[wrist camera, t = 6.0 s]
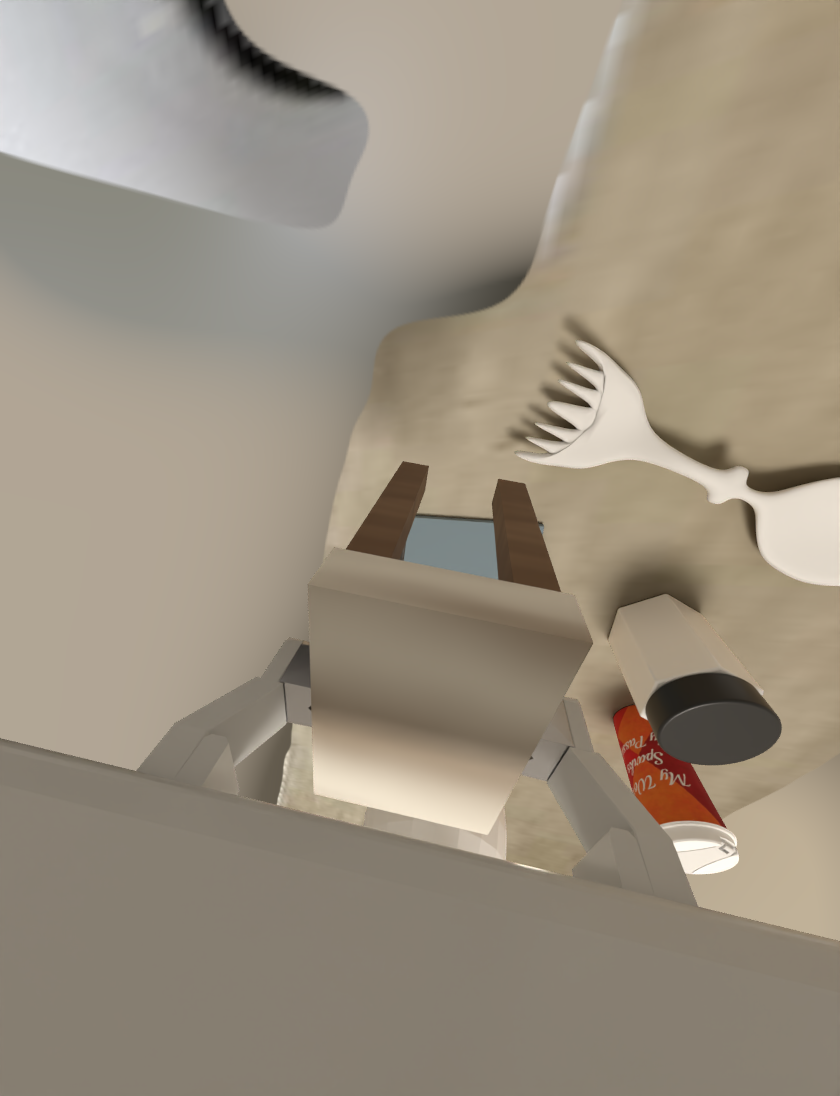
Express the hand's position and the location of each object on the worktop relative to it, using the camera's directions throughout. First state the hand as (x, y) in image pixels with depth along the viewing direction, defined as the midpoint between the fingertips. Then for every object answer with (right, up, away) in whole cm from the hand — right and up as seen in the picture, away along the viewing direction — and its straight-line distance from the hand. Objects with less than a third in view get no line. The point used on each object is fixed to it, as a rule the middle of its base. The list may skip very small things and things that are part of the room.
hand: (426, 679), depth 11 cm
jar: (+24, -4, +26) cm, 36 cm away
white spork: (+24, +10, +18) cm, 32 cm away
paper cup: (+27, -17, +33) cm, 46 cm away
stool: (+1, +4, +7) cm, 8 cm away
